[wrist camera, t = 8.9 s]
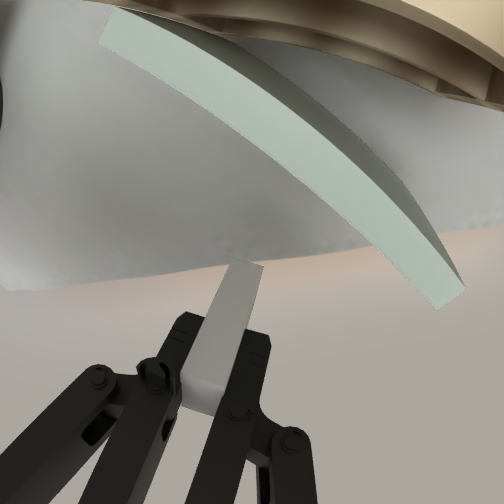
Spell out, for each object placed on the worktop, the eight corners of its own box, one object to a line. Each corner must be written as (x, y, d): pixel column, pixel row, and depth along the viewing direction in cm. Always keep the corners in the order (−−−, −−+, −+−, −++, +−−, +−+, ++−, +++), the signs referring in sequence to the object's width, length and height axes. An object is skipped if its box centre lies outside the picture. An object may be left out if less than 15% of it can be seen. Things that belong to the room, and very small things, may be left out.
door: (192, 63, 19) (66, 66, 8) (214, 32, 17) (98, -1, 7) (375, 207, 22) (410, 329, 11) (401, 181, 20) (466, 288, 10)
